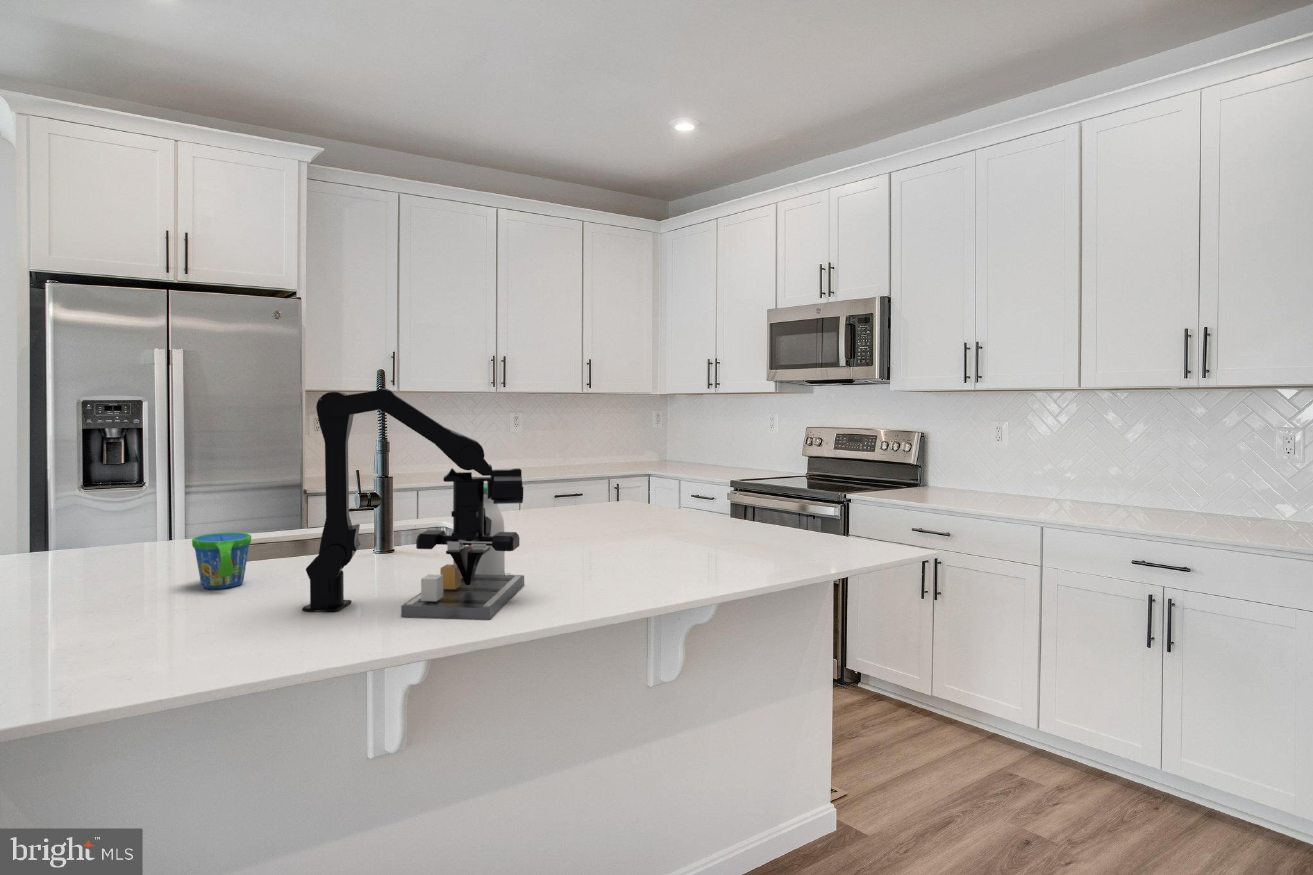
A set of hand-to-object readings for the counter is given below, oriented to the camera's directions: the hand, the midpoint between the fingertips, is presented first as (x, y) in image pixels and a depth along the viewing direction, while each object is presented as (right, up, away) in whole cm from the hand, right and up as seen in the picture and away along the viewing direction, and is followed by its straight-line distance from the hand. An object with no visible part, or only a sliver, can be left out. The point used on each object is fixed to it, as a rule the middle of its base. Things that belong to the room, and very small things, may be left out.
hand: (468, 584), depth 150 cm
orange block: (-3, -1, 0) cm, 4 cm away
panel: (0, -3, 0) cm, 3 cm away
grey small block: (-4, -1, -9) cm, 10 cm away
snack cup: (-53, -2, +9) cm, 54 cm away
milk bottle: (-1, -2, +20) cm, 20 cm away
